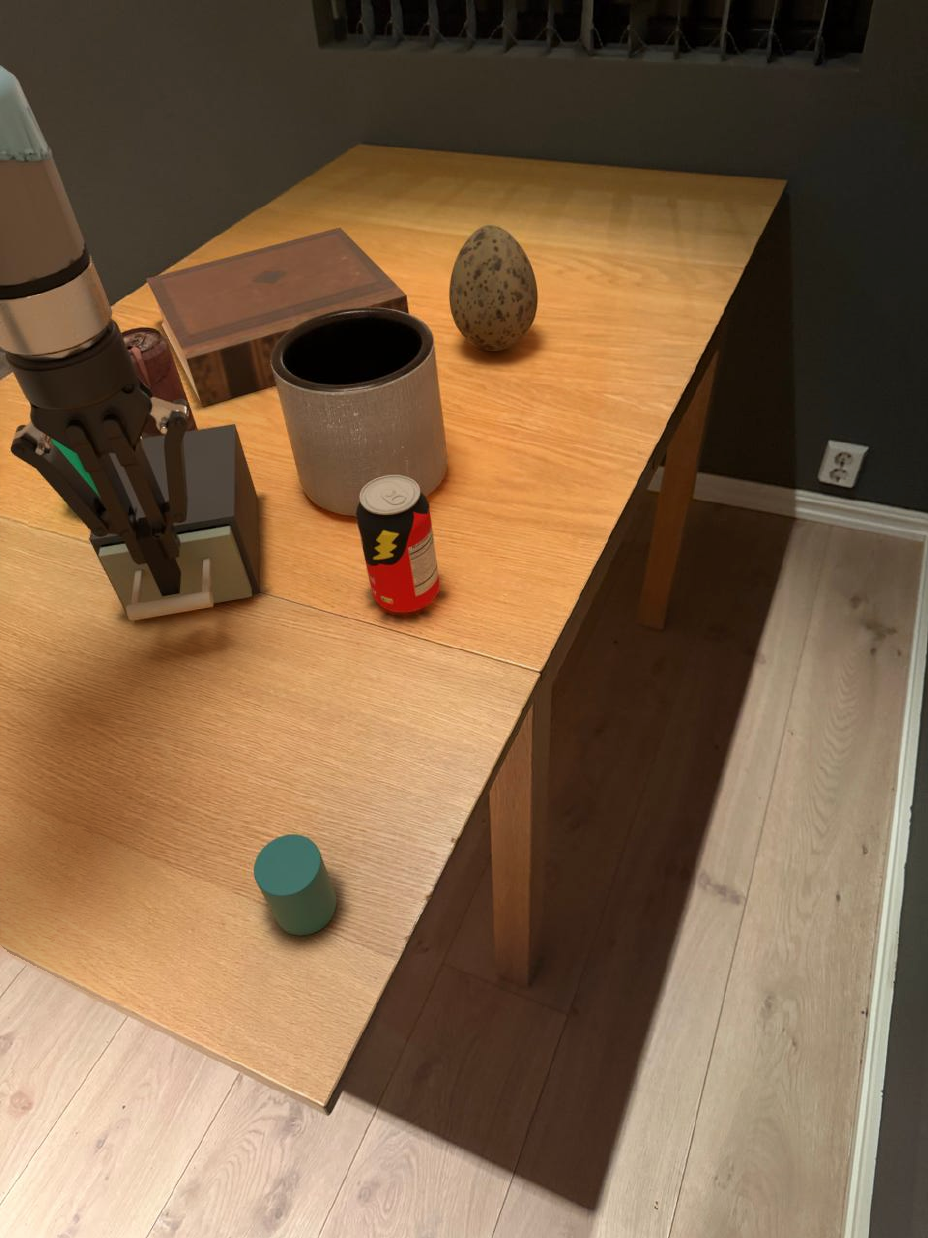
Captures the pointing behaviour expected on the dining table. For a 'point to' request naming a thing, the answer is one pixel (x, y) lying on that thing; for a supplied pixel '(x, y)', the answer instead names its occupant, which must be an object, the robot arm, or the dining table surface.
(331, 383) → the planter
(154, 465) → the cabinet
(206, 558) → the drawer
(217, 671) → the dining table surface
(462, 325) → the decorative egg
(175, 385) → the can
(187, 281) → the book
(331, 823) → the dining table surface
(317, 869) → the teal cylinder
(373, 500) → the beverage can
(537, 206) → the dining table surface
